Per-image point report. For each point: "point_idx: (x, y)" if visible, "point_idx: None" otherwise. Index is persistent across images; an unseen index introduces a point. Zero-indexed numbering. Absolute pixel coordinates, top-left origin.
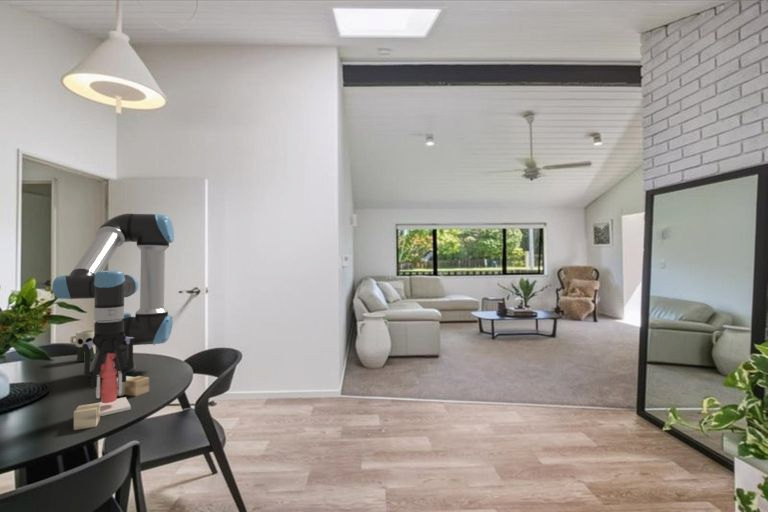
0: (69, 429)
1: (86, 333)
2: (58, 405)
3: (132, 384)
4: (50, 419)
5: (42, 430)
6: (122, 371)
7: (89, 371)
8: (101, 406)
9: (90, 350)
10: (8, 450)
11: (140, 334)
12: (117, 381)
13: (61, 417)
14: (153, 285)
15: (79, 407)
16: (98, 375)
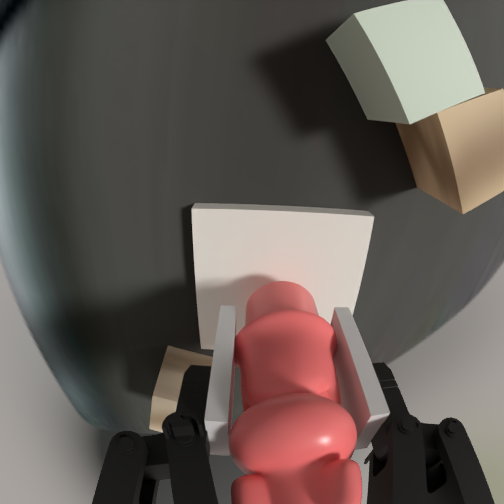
0: (150, 373)
1: None
2: (87, 67)
3: (445, 177)
4: (75, 247)
5: (81, 330)
6: (373, 454)
7: (155, 491)
8: (249, 280)
9: None
10: (59, 382)
11: None
12: (394, 92)
13: (105, 252)
14: None
15: (159, 410)
16: (221, 434)
